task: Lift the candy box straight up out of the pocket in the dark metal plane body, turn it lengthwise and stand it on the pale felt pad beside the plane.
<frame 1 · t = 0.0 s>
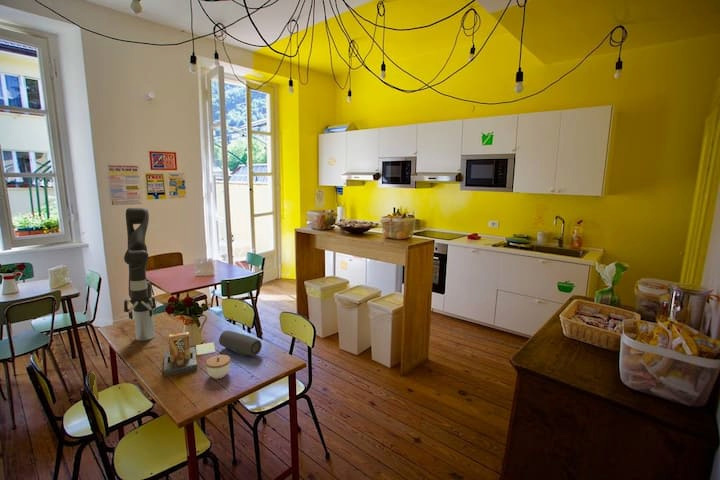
hand: (141, 317, 186), 17 cm above the table, tool pointing down, fingers open, 8 cm apart
candy box: (180, 363, 175), resting in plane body
lidded jar: (218, 375, 165), on the table
bluetooth speaker: (240, 352, 188), on the table
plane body: (180, 363, 175), on the table
felt pad: (205, 349, 190), on the table
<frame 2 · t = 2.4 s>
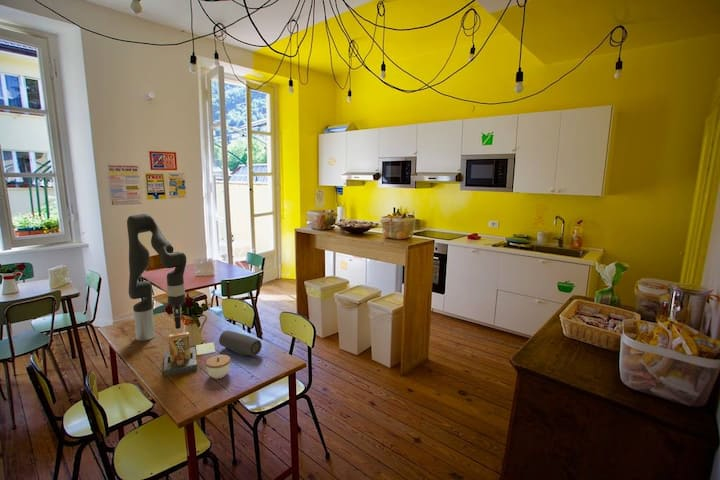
hand: (178, 325, 171), 20 cm above the table, tool pointing down, fingers open, 8 cm apart
nothing on the table moved.
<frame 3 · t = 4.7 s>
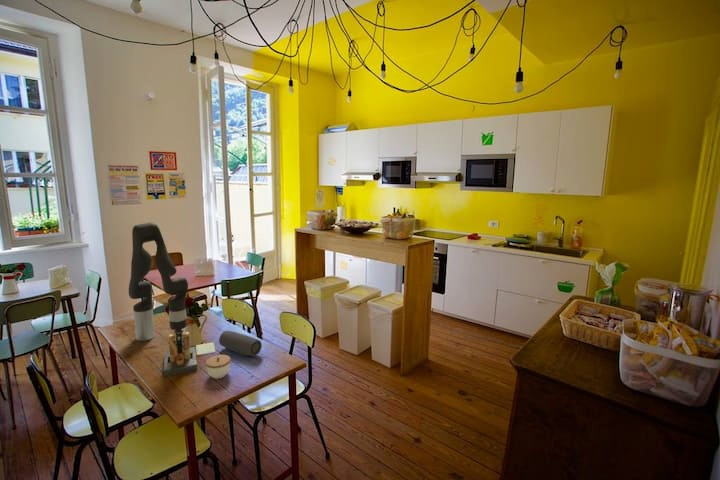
hand: (180, 350, 173), 7 cm above the table, tool pointing down, fingers closed on candy box, 4 cm apart
candy box: (180, 363, 175), resting in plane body, touching gripper
everything else where it was.
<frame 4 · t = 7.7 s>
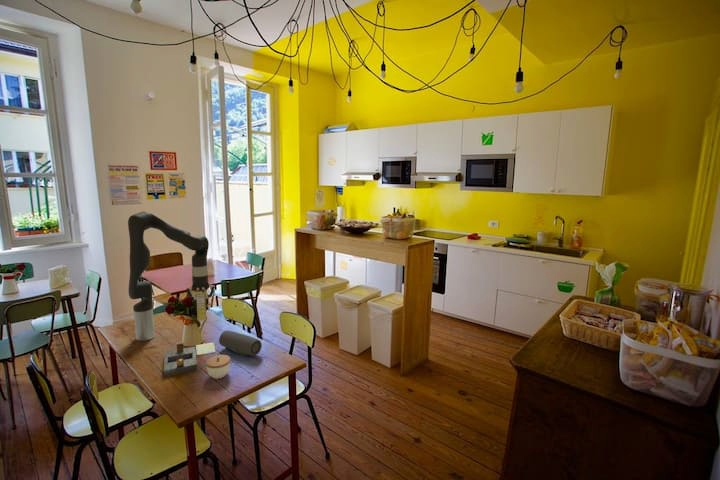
hand: (201, 305, 184), 25 cm above the table, tool pointing down, fingers closed on candy box, 4 cm apart
candy box: (202, 317, 186), point 18 cm above the table, touching gripper
everything else where it was.
when the fingers open (8 cm above the table, at t = 10.8 s): candy box stays where it is, resting on felt pad.
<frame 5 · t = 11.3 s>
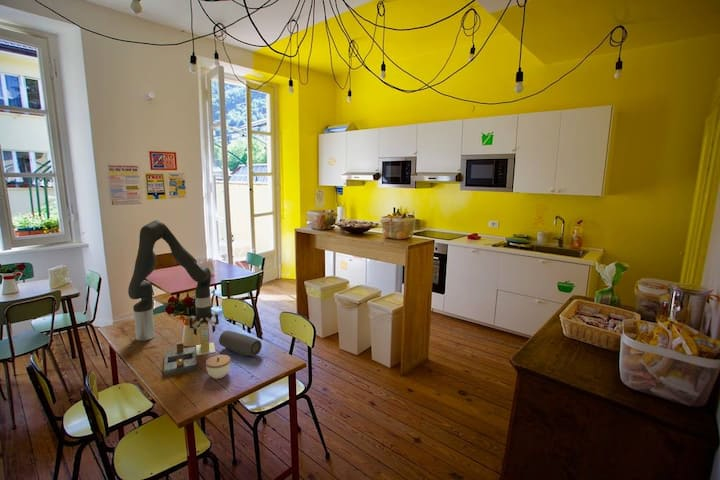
hand: (204, 333, 188), 9 cm above the table, tool pointing down, fingers open, 8 cm apart
candy box: (205, 348, 190), resting on felt pad
everything else where it was.
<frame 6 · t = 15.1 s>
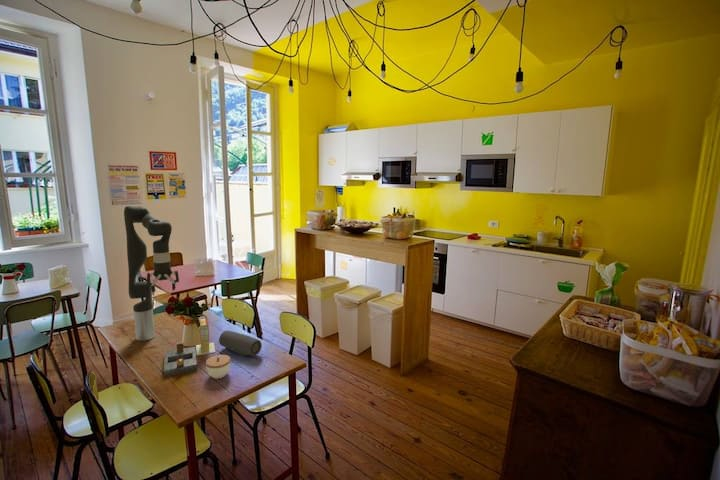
hand: (164, 291, 181), 33 cm above the table, tool pointing down, fingers open, 8 cm apart
nothing on the table moved.
at the end: candy box inside the target area (0.1 cm from its centre), resting on felt pad; candy box tilted 0°; the gripper is holding nothing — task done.
